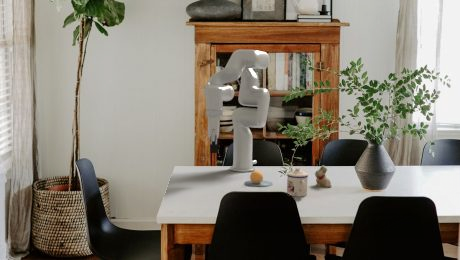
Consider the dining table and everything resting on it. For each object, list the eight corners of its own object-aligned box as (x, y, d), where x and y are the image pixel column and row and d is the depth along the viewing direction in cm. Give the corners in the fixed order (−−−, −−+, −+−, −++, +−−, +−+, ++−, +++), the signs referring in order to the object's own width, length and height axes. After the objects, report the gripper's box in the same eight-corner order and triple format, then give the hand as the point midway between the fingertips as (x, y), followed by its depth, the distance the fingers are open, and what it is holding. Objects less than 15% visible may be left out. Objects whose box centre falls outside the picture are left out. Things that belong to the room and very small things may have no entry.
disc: (255, 179, 329) (255, 178, 329) (278, 183, 321) (278, 182, 321) (238, 183, 318) (239, 183, 318) (262, 188, 311) (262, 187, 310)
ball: (250, 176, 323) (261, 169, 322) (256, 187, 321) (267, 180, 320) (246, 174, 318) (256, 167, 317) (251, 184, 316) (262, 177, 314)
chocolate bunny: (324, 183, 322) (324, 162, 320) (332, 187, 314) (333, 165, 313) (313, 184, 320) (314, 163, 318) (322, 188, 312) (323, 166, 311)
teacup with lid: (283, 192, 303) (283, 166, 301) (302, 191, 305) (303, 165, 304) (294, 199, 291) (294, 171, 290) (313, 197, 294) (314, 170, 292)
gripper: (207, 111, 323) (206, 149, 326) (204, 115, 308) (204, 155, 311) (223, 111, 323) (222, 150, 325) (221, 115, 308) (221, 155, 311)
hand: (213, 152), depth 318 cm, fingers closed
